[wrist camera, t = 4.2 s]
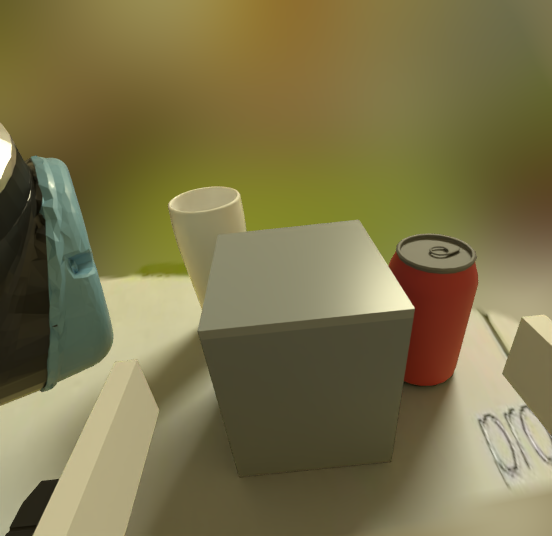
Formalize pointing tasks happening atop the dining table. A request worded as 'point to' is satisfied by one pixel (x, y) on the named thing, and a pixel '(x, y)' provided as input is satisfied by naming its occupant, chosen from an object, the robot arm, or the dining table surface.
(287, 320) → the tall grey box
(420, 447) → the dining table surface
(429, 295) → the beer can
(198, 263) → the drinking glass
